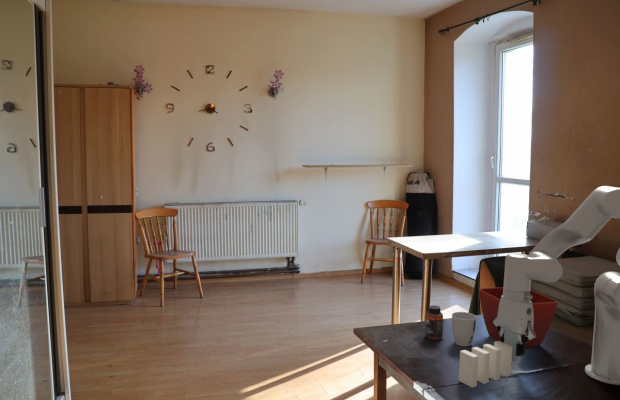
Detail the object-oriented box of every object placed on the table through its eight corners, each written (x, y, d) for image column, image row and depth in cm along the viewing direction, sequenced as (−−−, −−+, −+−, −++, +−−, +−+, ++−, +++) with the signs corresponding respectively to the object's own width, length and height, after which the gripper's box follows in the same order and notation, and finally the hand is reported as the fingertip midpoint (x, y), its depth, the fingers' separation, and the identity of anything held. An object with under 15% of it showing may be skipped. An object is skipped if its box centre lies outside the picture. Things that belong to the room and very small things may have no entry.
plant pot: (556, 349, 173) (559, 301, 171) (507, 354, 168) (510, 304, 166) (520, 329, 191) (523, 285, 189) (475, 333, 187) (477, 288, 185)
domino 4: (510, 375, 153) (512, 346, 152) (506, 376, 152) (507, 347, 151) (497, 368, 157) (498, 340, 156) (492, 370, 156) (494, 342, 155)
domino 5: (520, 361, 155) (522, 333, 154) (516, 362, 154) (518, 334, 153) (506, 355, 159) (508, 327, 158) (502, 356, 158) (504, 328, 157)
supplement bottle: (444, 336, 183) (445, 306, 182) (439, 342, 178) (440, 310, 177) (428, 333, 186) (429, 303, 185) (422, 338, 181) (424, 307, 180)
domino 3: (499, 378, 150) (501, 349, 149) (495, 380, 149) (496, 350, 148) (486, 372, 155) (487, 343, 154) (481, 373, 154) (483, 344, 153)
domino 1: (476, 386, 146) (478, 355, 145) (471, 387, 145) (473, 357, 144) (463, 379, 150) (465, 349, 149) (458, 380, 149) (460, 351, 148)
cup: (476, 349, 172) (477, 320, 171) (451, 347, 174) (452, 318, 173) (473, 340, 180) (475, 312, 179) (449, 338, 182) (451, 311, 180)
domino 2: (488, 382, 148) (490, 352, 147) (483, 383, 147) (485, 354, 146) (475, 375, 152) (476, 346, 151) (470, 377, 151) (471, 347, 150)
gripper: (549, 300, 149) (544, 360, 151) (501, 285, 163) (497, 340, 166) (532, 304, 145) (528, 365, 147) (485, 288, 160) (481, 344, 162)
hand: (512, 351), depth 156 cm, fingers closed on domino 5, 4 cm apart
